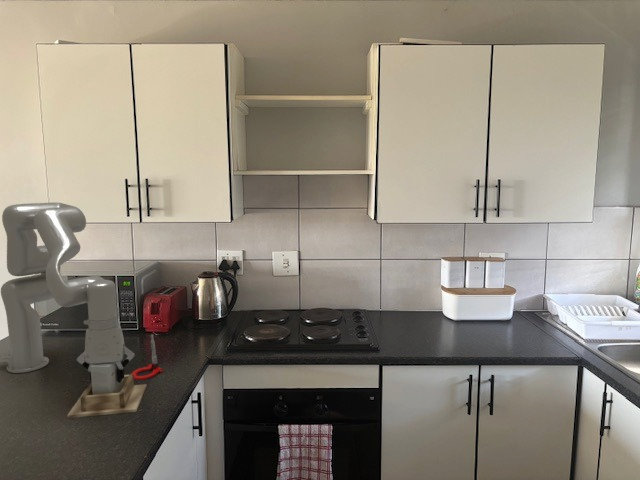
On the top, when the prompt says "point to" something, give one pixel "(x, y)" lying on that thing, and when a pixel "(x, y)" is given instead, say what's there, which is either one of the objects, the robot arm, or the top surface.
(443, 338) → the top surface
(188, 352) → the top surface
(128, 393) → the well
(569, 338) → the top surface
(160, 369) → the tow hook
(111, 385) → the small box
